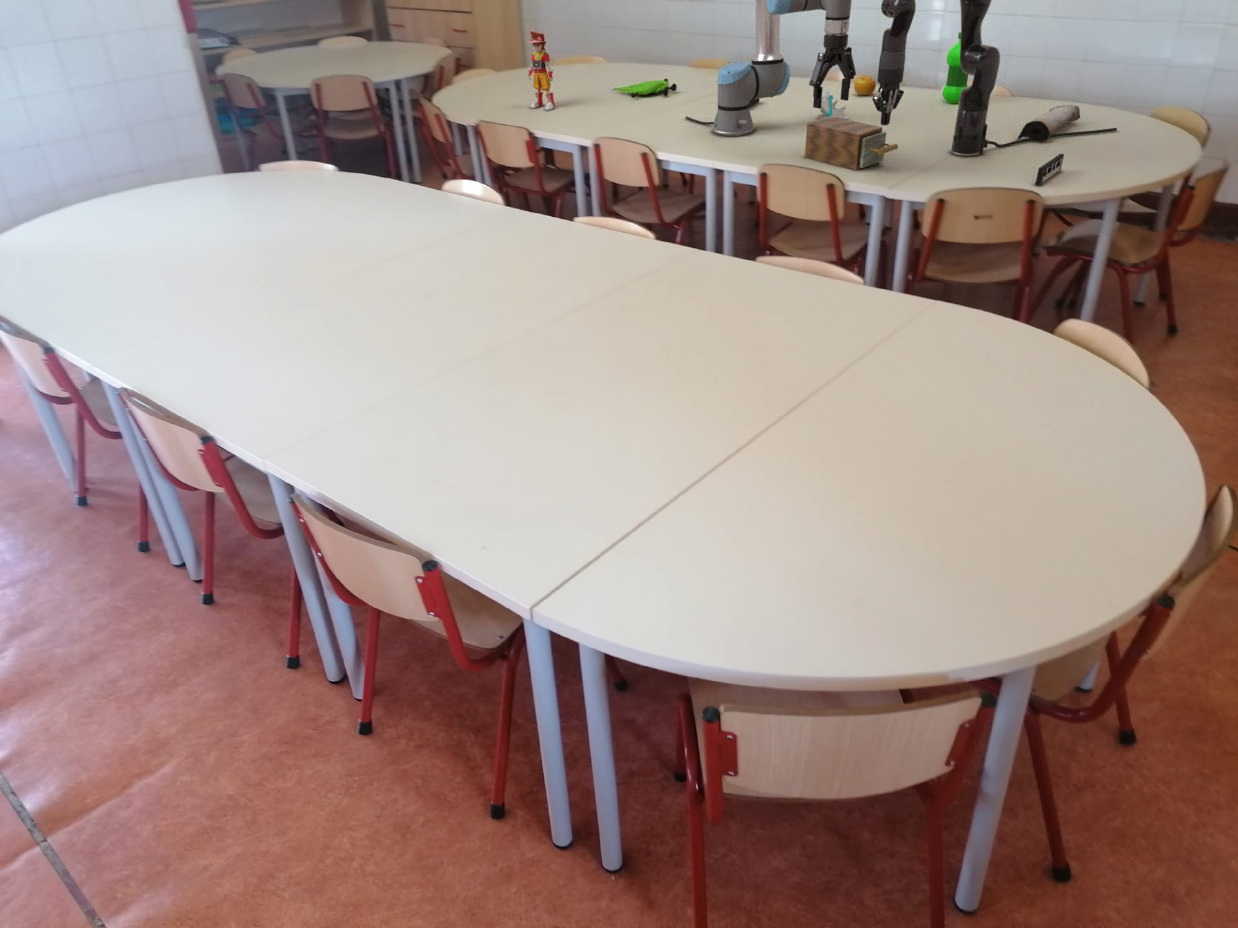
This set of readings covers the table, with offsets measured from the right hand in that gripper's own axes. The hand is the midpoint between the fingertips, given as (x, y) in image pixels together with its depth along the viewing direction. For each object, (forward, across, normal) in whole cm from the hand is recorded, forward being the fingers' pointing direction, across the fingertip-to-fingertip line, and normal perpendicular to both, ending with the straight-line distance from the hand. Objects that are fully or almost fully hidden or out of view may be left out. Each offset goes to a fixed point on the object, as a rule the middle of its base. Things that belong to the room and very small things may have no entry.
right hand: (884, 124), depth 282 cm
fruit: (+14, +76, +68) cm, 103 cm away
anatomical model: (+14, +38, +54) cm, 67 cm away
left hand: (-3, 0, +23) cm, 23 cm away
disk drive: (+14, +30, +94) cm, 100 cm away
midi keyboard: (+14, +26, -43) cm, 52 cm away
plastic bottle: (+14, +88, +33) cm, 95 cm away
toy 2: (+14, +20, +146) cm, 148 cm away
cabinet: (+14, 0, +16) cm, 21 cm away
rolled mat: (+14, +73, -16) cm, 76 cm away
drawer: (+13, 0, +10) cm, 17 cm away
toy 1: (+14, -25, +158) cm, 161 cm away
